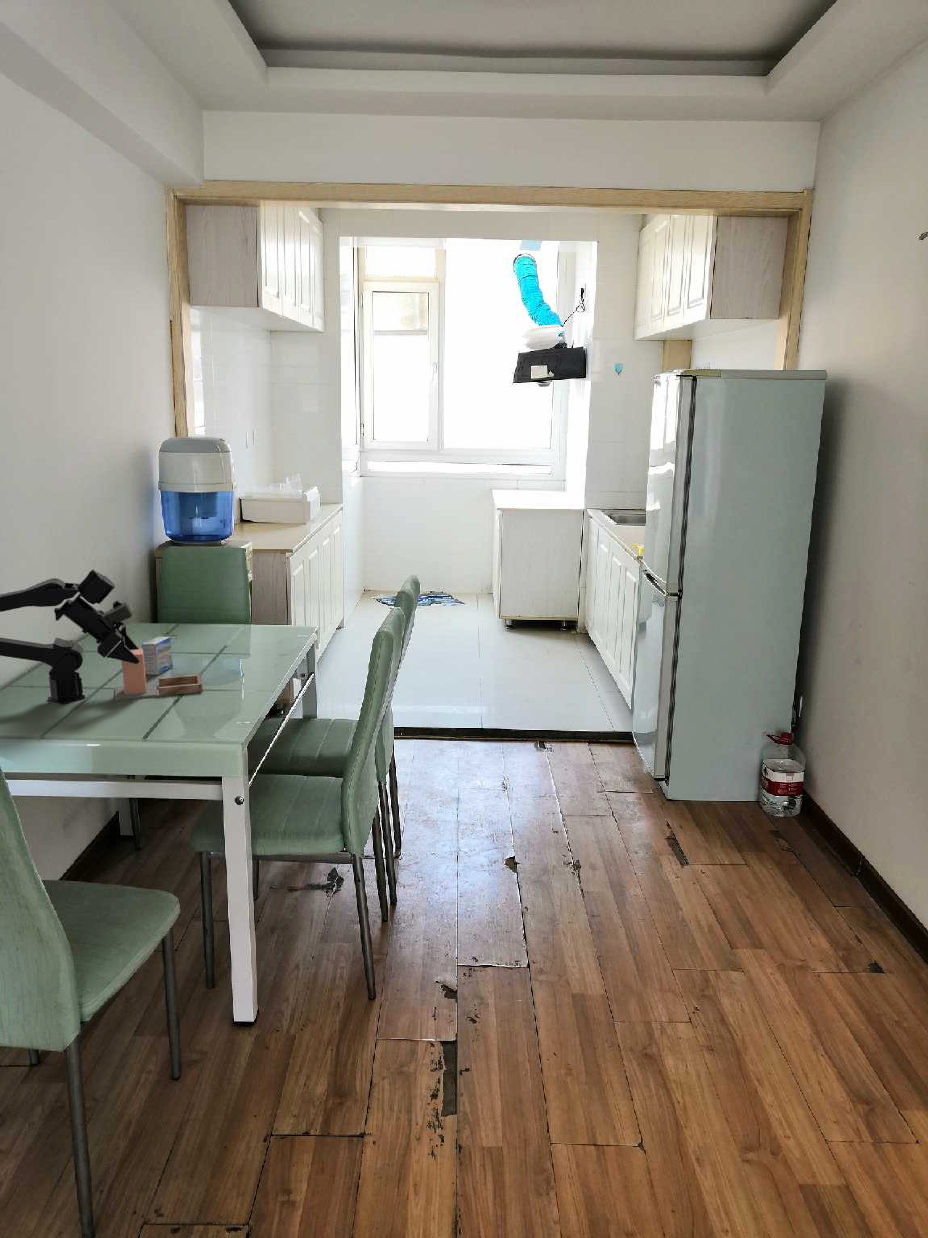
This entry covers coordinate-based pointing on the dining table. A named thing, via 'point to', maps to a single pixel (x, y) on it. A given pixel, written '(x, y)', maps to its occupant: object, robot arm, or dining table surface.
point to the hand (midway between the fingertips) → (138, 657)
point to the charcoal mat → (150, 692)
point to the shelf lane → (180, 688)
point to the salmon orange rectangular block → (134, 674)
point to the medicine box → (157, 655)
